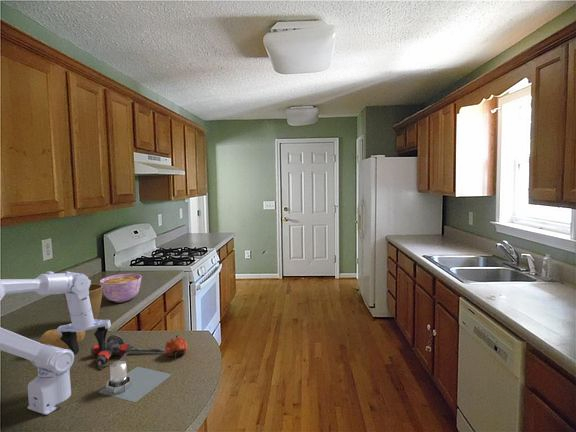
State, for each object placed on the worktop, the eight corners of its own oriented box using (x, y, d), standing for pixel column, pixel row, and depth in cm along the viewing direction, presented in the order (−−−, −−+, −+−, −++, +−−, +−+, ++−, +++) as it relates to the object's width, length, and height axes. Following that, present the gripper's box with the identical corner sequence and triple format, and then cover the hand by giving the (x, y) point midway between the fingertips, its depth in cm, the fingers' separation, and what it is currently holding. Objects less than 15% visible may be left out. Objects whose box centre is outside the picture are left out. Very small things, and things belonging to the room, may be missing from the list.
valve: (75, 376, 116) (99, 348, 131) (153, 378, 116) (169, 350, 131) (73, 359, 115) (97, 333, 129) (152, 361, 115) (168, 335, 129)
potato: (85, 350, 129) (83, 329, 128) (39, 359, 123) (37, 337, 123) (87, 339, 138) (86, 320, 137) (44, 347, 132) (43, 326, 131)
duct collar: (118, 396, 99) (118, 390, 99) (101, 391, 102) (100, 385, 102) (137, 383, 106) (136, 377, 105) (120, 378, 108) (119, 373, 108)
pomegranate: (188, 366, 121) (192, 339, 129) (181, 356, 116) (185, 329, 124) (166, 368, 122) (172, 341, 129) (159, 359, 117) (165, 331, 124)
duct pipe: (129, 387, 103) (127, 365, 103) (112, 393, 101) (111, 369, 100) (125, 380, 107) (124, 358, 106) (109, 385, 104) (108, 363, 104)
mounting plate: (135, 405, 96) (135, 402, 96) (98, 395, 102) (97, 391, 101) (172, 377, 110) (171, 374, 110) (137, 369, 115) (137, 366, 115)
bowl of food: (92, 305, 178) (90, 283, 177) (117, 293, 197) (116, 273, 196) (127, 307, 174) (126, 284, 173) (150, 294, 194) (149, 274, 193)
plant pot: (107, 315, 164) (105, 282, 162) (101, 327, 150) (99, 291, 148) (71, 319, 159) (68, 285, 158) (61, 332, 145) (58, 295, 143)
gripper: (110, 302, 110) (118, 340, 113) (61, 307, 108) (70, 347, 111) (102, 312, 103) (110, 353, 106) (49, 319, 101) (59, 360, 104)
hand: (89, 351), depth 108 cm, fingers open, 7 cm apart
